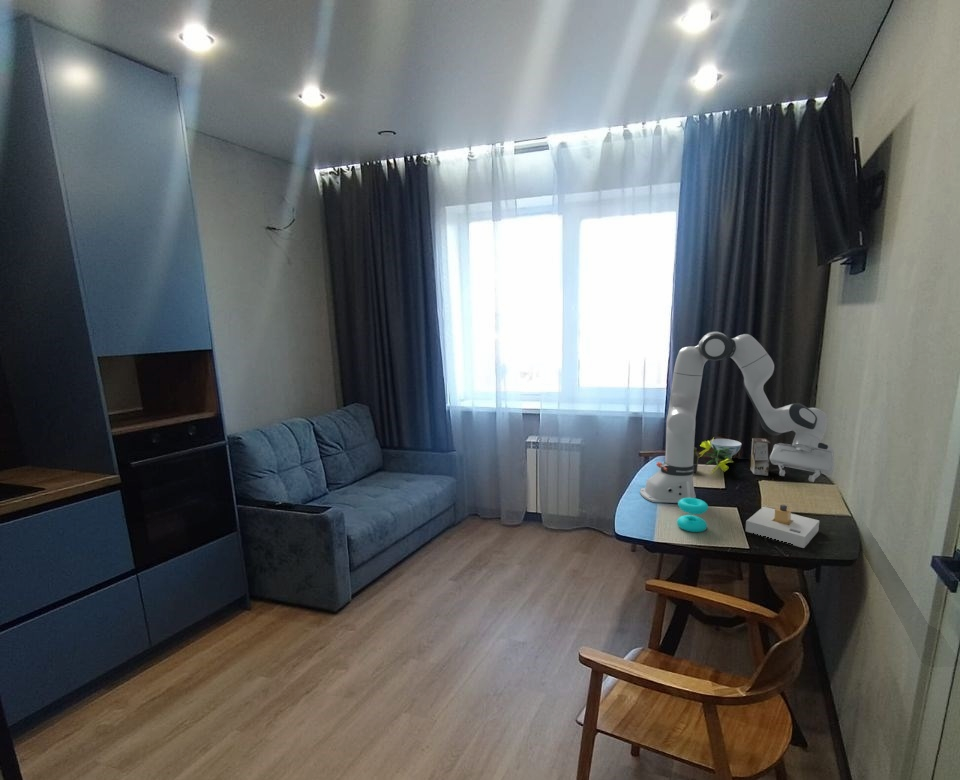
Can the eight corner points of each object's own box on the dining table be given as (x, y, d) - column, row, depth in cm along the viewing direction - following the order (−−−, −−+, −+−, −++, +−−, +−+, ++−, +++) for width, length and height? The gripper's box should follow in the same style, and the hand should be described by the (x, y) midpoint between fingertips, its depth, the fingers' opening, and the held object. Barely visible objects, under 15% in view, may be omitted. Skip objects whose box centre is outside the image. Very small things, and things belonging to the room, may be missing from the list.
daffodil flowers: (748, 466, 249) (735, 465, 222) (720, 476, 257) (703, 476, 229) (732, 435, 256) (717, 431, 228) (705, 447, 263) (687, 443, 236)
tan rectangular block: (773, 531, 174) (775, 505, 173) (776, 527, 177) (779, 502, 176) (786, 534, 172) (788, 509, 170) (789, 531, 174) (791, 505, 173)
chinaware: (744, 455, 264) (745, 441, 263) (735, 462, 253) (736, 447, 252) (715, 450, 274) (715, 437, 273) (705, 456, 264) (706, 442, 262)
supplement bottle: (692, 474, 236) (693, 450, 234) (679, 471, 241) (680, 447, 239) (700, 471, 239) (701, 447, 238) (687, 468, 245) (688, 445, 243)
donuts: (705, 509, 170) (675, 503, 176) (703, 536, 172) (674, 529, 178) (710, 499, 178) (681, 494, 184) (709, 525, 180) (680, 519, 186)
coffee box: (768, 475, 232) (771, 442, 229) (753, 474, 234) (755, 442, 231) (764, 470, 240) (766, 438, 238) (749, 468, 242) (752, 437, 240)
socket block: (745, 531, 175) (746, 519, 174) (762, 516, 187) (763, 505, 186) (803, 548, 162) (805, 536, 161) (818, 531, 174) (819, 519, 173)
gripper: (773, 437, 191) (763, 467, 186) (837, 447, 176) (827, 480, 171) (776, 446, 194) (766, 475, 189) (838, 456, 179) (829, 489, 174)
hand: (795, 478), depth 180 cm, fingers open, 8 cm apart
